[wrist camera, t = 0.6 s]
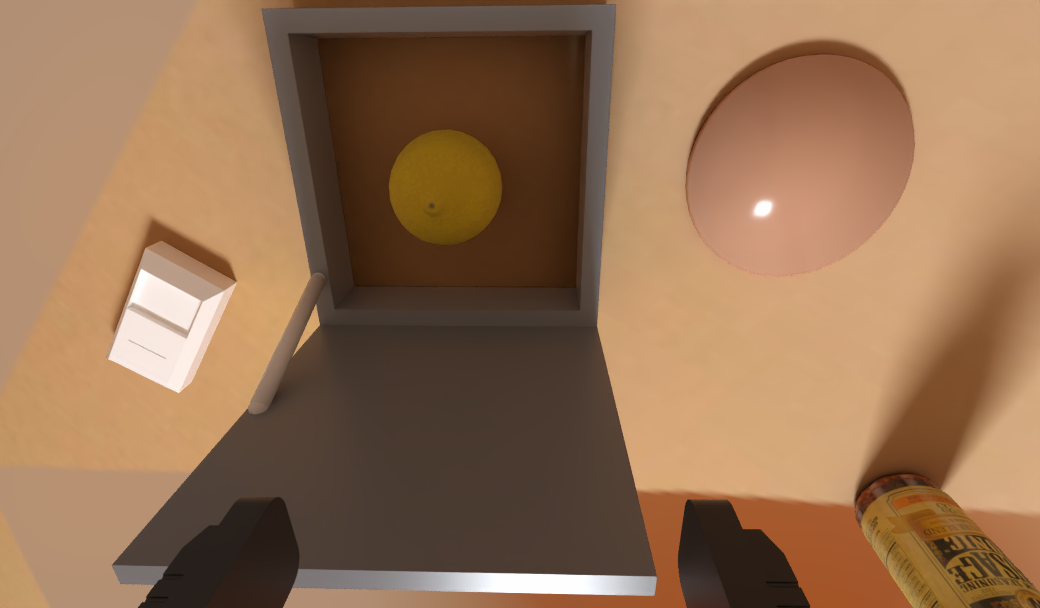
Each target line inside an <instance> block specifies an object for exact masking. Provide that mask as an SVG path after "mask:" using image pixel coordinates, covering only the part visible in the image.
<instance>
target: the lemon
mask: <svg viewBox="0 0 1040 608" xmlns="http://www.w3.org/2000/svg"><path fill="white" fill-rule="evenodd" d="M389 194H390V201H391V204H392V207H393V210H394V213H395V215H396V216H397V218H398V220H399V221H400V223H401V224H402V225H403V226H404V227H405V228H406V229H407V230H408V231H409V232H410V233H411V234H412V235H414V236H416V237H417V238H419V239H421V240H423V241H426V242H429V243H432V244H436V245H452V244H459V243H462V242H465V241H467V240H469V239H472V238H474V237H475V236H477V235H478V234H479V233H480V232H482V231H483V230H484V229H485V228H486V227H487V226H488V225H489V223H490V222H491V221H492V219H493V218H494V217H495V215H496V212H497V210H498V207H499V205H500V202H501V195H502V180H501V173H500V170H499V168H498V165H497V162H496V160H495V158H494V157H493V155H492V154H491V153H490V151H489V150H488V148H487V147H486V146H484V145H483V144H482V143H481V142H480V141H479V140H477V139H476V138H474V137H472V136H470V135H468V134H466V133H464V132H460V131H455V130H450V129H448V130H434V131H431V132H428V133H425V134H422V135H420V136H418V137H417V138H416V139H414V140H413V141H411V142H410V143H408V144H407V145H406V147H405V148H404V149H403V150H402V151H401V153H400V154H399V155H398V157H397V159H396V161H395V163H394V165H393V168H392V170H391V175H390V181H389Z"/></svg>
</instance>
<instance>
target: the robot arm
mask: <svg viewBox="0 0 1040 608" xmlns="http://www.w3.org/2000/svg"><path fill="white" fill-rule="evenodd" d="M299 560H300V554H299V548H298V544H297V541H296V537H295V534H294V531H293V527H292V524H291V521H290V517H289V514H288V511H287V507H286V504H285V502H284V500H283V499H282V498H280V497H242V498H239V499H238V500H237V501H236V502H235V503H234V504H233V505H232V507H231V508H230V509H229V511H228V512H227V514H226V515H225V517H224V518H223V520H222V521H221V522H220V524H219V525H209V526H208V527H206V528H205V529H204V530H203V531H202V532H200V533H199V534H198V535H197V536H196V537H194V538H193V539H192V540H191V541H190V542H188V543H187V544H186V545H185V546H184V547H183V548H182V549H181V550H180V551H179V553H178V554H177V556H176V557H175V558H174V560H173V561H172V562H171V564H170V565H169V566H168V568H167V569H166V570H165V572H164V573H163V577H162V579H161V580H158V581H157V583H156V584H155V585H154V587H153V588H152V589H151V591H150V592H149V594H148V595H147V597H146V598H147V599H146V601H145V602H142V603H141V604H140V606H139V607H138V608H283V606H284V604H285V602H286V600H287V598H288V595H289V593H290V591H291V589H292V587H293V585H294V582H295V580H296V577H297V573H298V568H299ZM678 568H679V577H680V583H681V587H682V591H683V595H684V598H685V602H686V606H687V608H810V604H809V602H808V601H807V599H806V597H805V595H804V593H803V591H802V589H801V588H799V586H798V581H797V579H796V577H795V575H794V573H793V571H792V569H791V567H790V565H789V563H788V561H787V559H786V557H785V555H784V553H783V552H782V551H781V550H780V549H779V548H778V547H777V546H776V545H775V544H774V543H773V542H772V541H771V540H770V539H769V538H768V537H767V536H766V535H765V534H764V533H763V532H762V531H761V530H760V529H759V530H758V529H748V530H747V529H742V527H741V524H740V522H739V520H738V518H737V515H736V513H735V511H734V509H733V506H732V505H731V503H730V502H729V501H728V500H687V502H686V505H685V510H684V517H683V524H682V531H681V539H680V545H679V553H678Z"/></svg>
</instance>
